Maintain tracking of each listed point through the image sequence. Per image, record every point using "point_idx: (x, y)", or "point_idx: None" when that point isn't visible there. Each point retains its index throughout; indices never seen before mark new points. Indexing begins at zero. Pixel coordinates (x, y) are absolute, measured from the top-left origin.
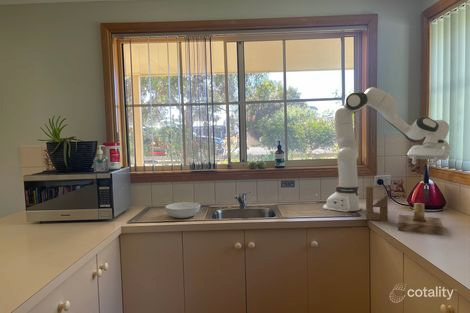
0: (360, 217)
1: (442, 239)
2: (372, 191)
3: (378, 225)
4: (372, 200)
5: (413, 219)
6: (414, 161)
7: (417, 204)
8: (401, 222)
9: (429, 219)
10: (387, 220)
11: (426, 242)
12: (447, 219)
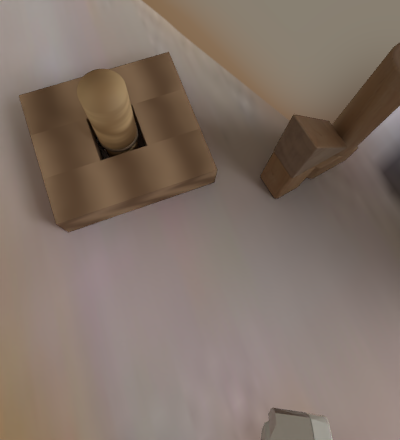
0: (368, 158)
1: (25, 69)
2: (375, 76)
3: (252, 93)
4: (348, 107)
5: (146, 148)
6: (281, 425)
7: (103, 70)
8: (158, 59)
9: (86, 168)
10: (260, 175)
11: (58, 14)
12: (67, 379)
